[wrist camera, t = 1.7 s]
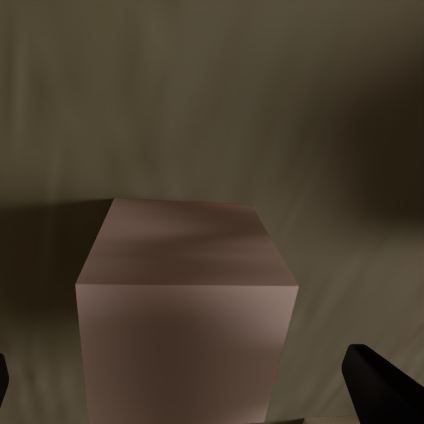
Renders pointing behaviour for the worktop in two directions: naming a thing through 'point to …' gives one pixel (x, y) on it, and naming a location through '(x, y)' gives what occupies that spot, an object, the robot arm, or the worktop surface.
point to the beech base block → (333, 420)
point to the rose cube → (182, 314)
